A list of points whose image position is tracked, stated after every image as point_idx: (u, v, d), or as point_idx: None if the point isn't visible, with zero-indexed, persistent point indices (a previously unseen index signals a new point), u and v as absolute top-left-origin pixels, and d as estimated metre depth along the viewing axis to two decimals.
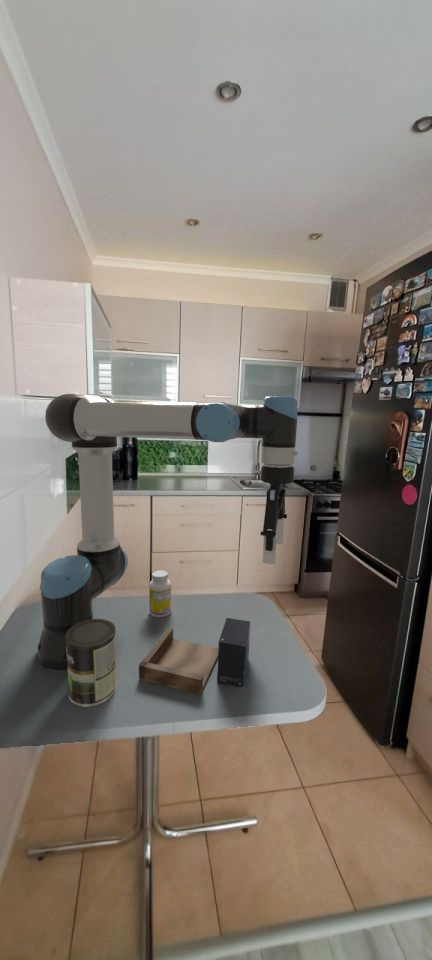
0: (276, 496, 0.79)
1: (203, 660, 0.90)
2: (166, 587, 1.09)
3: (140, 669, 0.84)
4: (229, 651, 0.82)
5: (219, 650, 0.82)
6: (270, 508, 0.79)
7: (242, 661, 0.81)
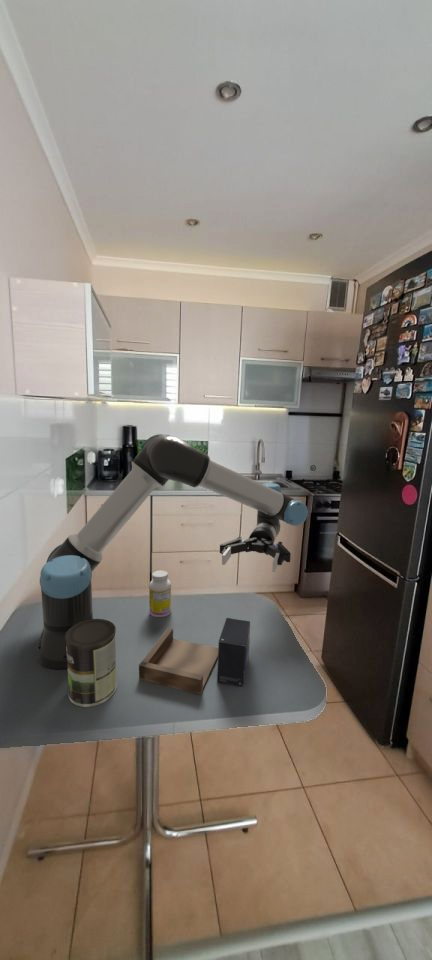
0: None
1: (203, 660, 0.90)
2: (166, 587, 1.09)
3: (140, 669, 0.84)
4: (229, 651, 0.82)
5: (219, 650, 0.82)
6: None
7: (242, 661, 0.81)
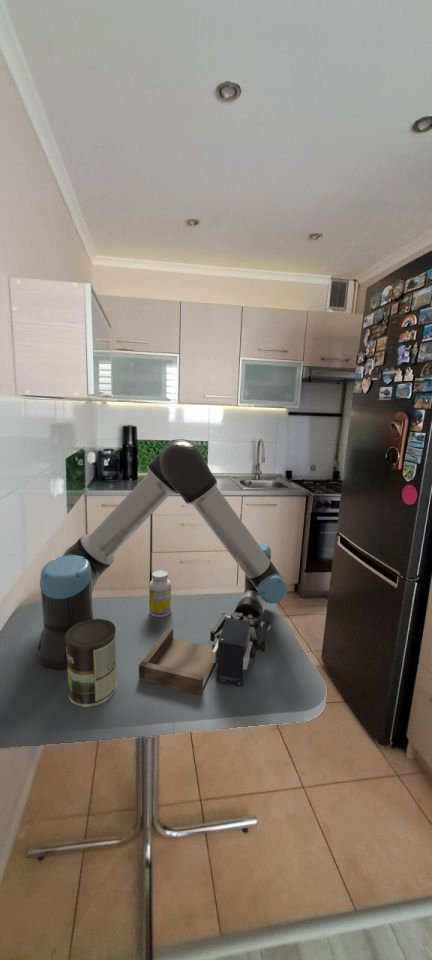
0: (269, 631, 0.95)
1: (203, 660, 0.90)
2: (166, 587, 1.09)
3: (140, 669, 0.84)
4: (228, 651, 0.82)
5: (218, 650, 0.82)
6: None
7: (241, 661, 0.81)
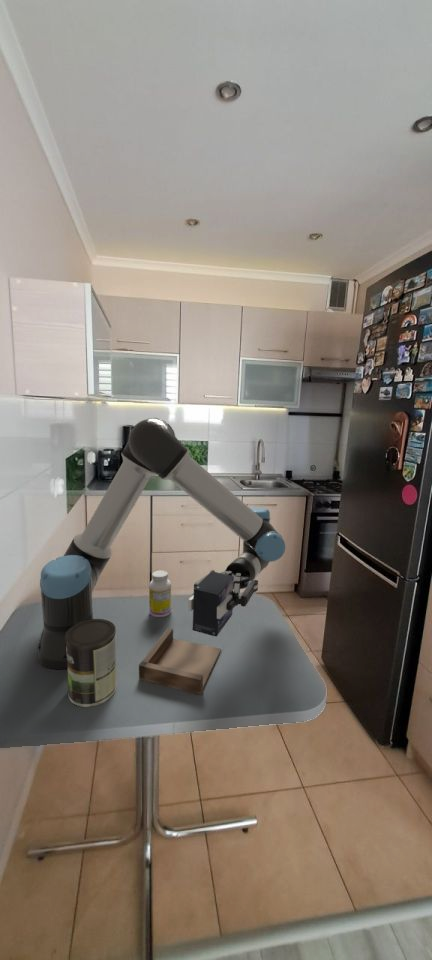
0: (256, 590, 0.92)
1: (203, 660, 0.90)
2: (166, 587, 1.09)
3: (140, 669, 0.84)
4: (203, 599, 0.81)
5: (194, 597, 0.82)
6: (252, 590, 0.90)
7: (215, 610, 0.80)
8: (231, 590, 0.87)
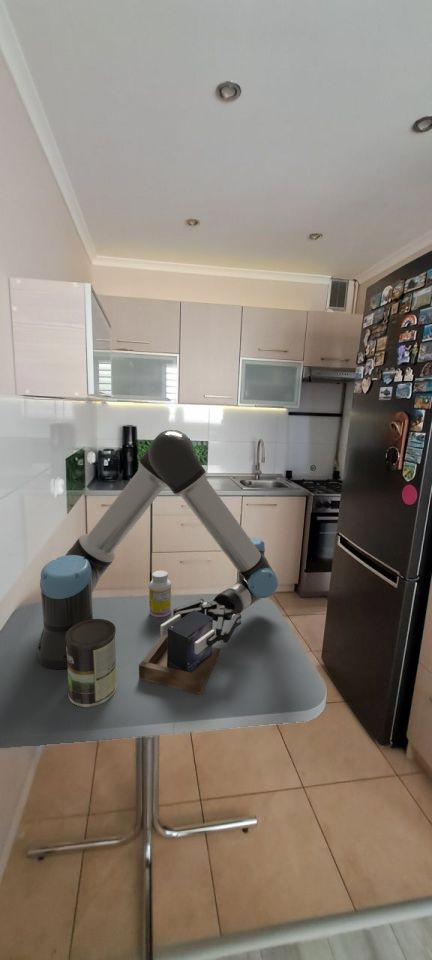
0: (239, 623, 0.94)
1: None
2: (166, 587, 1.09)
3: (140, 669, 0.84)
4: (174, 639, 0.85)
5: (168, 636, 0.86)
6: (234, 625, 0.91)
7: (185, 652, 0.83)
8: None
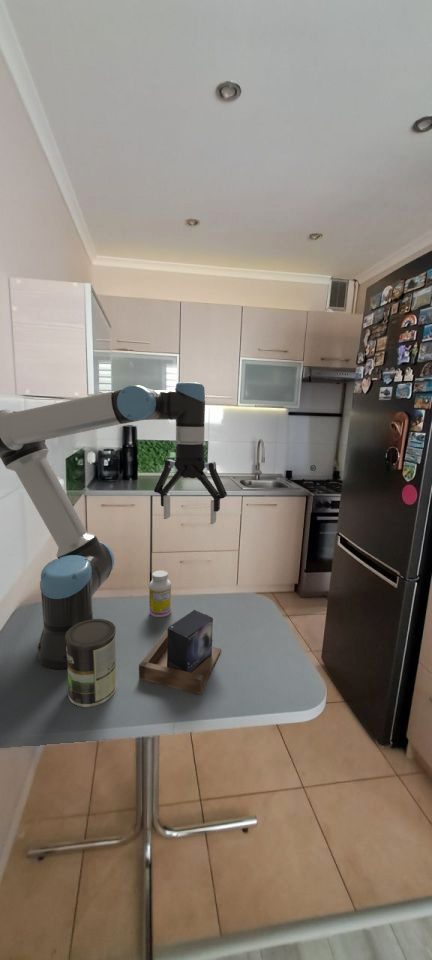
0: (215, 466, 0.97)
1: None
2: (166, 587, 1.09)
3: (140, 669, 0.84)
4: (174, 639, 0.85)
5: (168, 636, 0.86)
6: (217, 476, 0.96)
7: (185, 652, 0.83)
8: (208, 632, 0.89)
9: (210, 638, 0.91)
